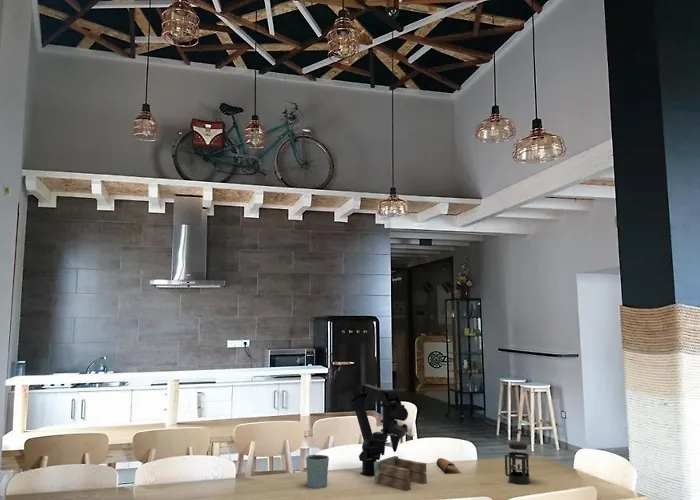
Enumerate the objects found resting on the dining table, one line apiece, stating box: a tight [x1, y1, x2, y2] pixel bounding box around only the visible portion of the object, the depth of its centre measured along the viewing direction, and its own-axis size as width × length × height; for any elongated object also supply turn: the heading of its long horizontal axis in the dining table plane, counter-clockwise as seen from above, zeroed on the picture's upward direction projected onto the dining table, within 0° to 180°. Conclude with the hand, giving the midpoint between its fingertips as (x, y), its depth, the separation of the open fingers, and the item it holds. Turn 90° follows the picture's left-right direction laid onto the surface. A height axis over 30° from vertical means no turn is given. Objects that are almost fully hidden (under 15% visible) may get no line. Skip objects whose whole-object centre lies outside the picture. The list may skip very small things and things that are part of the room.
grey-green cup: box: [305, 454, 330, 489], centre depth 244 cm, size 10×10×12 cm
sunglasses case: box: [436, 457, 462, 475], centre depth 273 cm, size 18×7×7 cm, turn 5°
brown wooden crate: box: [373, 455, 428, 491], centre depth 249 cm, size 17×16×9 cm
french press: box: [504, 428, 531, 486], centre depth 253 cm, size 12×9×23 cm
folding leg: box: [382, 464, 409, 480], centre depth 243 cm, size 14×2×4 cm, turn 47°
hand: (388, 453), depth 253 cm, fingers open, 9 cm apart
